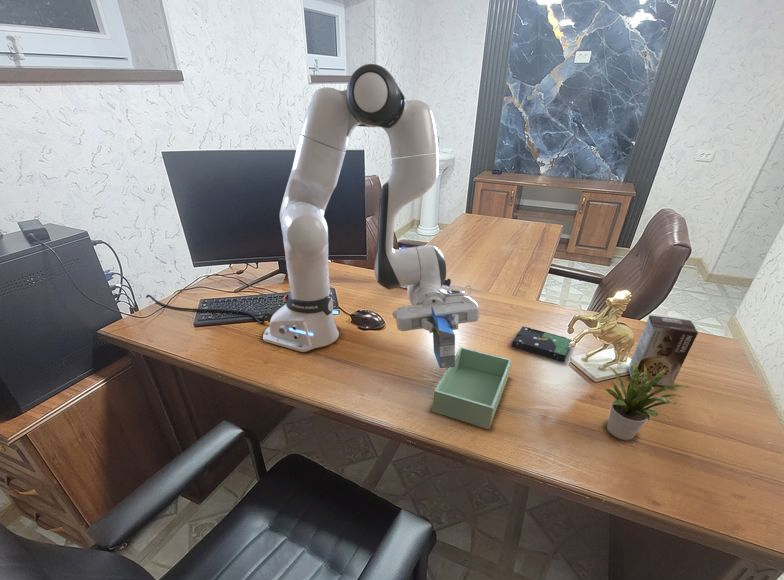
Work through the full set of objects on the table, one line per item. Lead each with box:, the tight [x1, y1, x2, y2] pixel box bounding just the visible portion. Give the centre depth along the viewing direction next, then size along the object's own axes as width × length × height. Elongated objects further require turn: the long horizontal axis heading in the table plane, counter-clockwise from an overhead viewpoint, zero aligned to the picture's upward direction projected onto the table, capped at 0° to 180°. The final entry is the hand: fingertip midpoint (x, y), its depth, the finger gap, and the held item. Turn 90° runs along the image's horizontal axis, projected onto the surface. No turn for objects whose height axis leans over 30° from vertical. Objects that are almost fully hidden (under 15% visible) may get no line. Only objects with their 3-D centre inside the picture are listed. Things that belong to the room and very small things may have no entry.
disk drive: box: [510, 325, 573, 364], centre depth 112 cm, size 10×3×15 cm
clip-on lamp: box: [440, 278, 472, 297], centre depth 140 cm, size 12×6×18 cm
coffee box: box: [627, 314, 699, 387], centre depth 97 cm, size 9×6×16 cm
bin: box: [431, 346, 512, 430], centre depth 93 cm, size 20×13×6 cm, turn 154°
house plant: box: [603, 362, 689, 441], centre depth 79 cm, size 14×14×16 cm
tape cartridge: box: [431, 306, 456, 369], centre depth 90 cm, size 9×4×12 cm, turn 4°
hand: (444, 328), depth 88 cm, fingers closed on tape cartridge, 4 cm apart
